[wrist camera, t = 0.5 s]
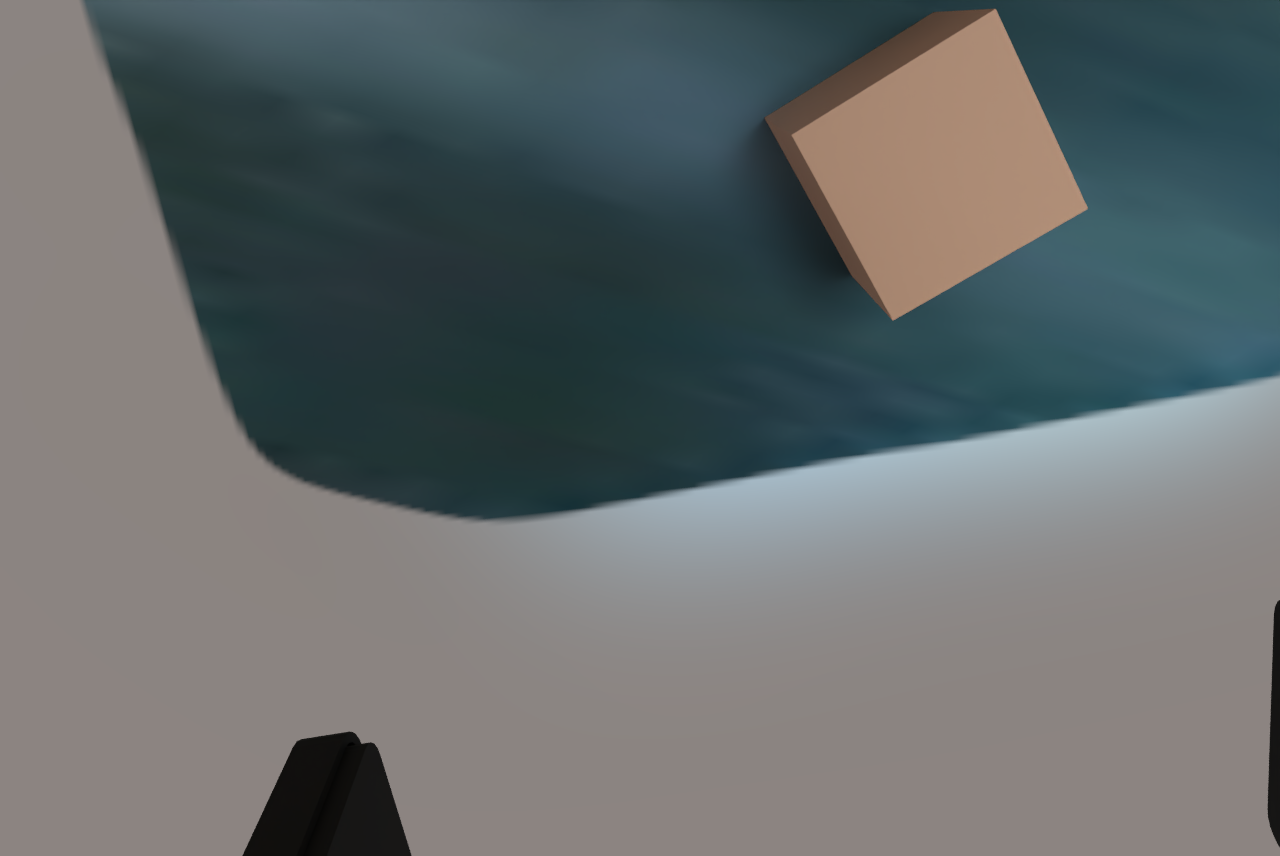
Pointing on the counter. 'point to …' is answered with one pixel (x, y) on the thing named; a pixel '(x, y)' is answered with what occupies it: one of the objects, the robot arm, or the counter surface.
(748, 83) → the counter surface
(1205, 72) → the counter surface
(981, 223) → the terracotta cube
